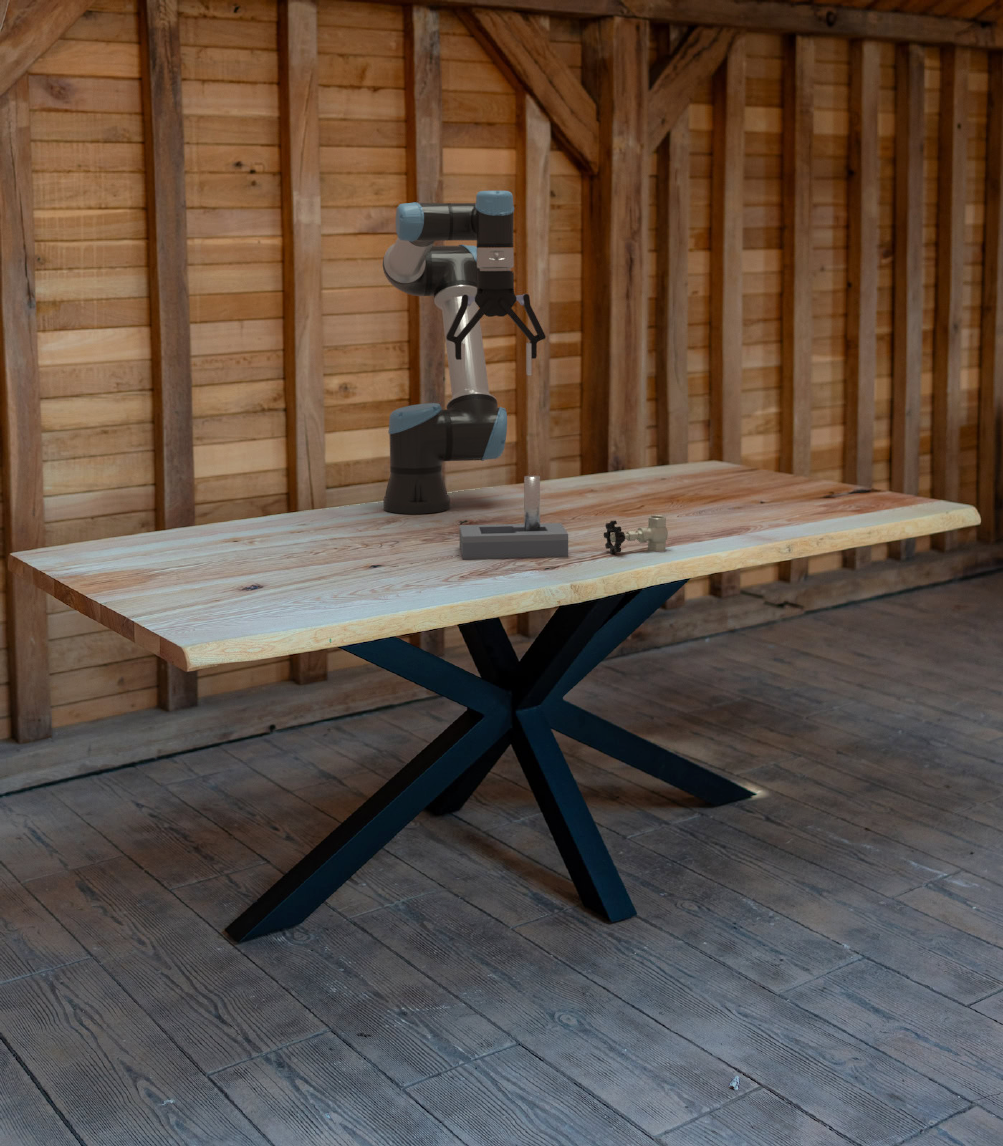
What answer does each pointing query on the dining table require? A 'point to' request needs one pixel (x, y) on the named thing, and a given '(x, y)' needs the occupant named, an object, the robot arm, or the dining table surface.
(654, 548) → the valve
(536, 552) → the keyhole board
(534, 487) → the flanged metal peg
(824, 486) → the dining table surface
